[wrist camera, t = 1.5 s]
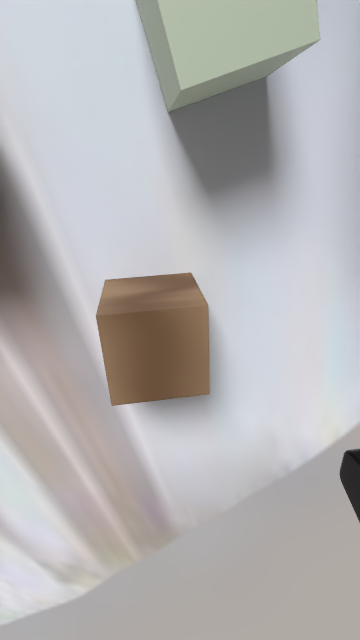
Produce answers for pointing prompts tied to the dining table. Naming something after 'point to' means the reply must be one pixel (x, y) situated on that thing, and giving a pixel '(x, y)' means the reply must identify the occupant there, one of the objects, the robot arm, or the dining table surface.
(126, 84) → the dining table surface
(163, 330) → the walnut block
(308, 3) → the block
